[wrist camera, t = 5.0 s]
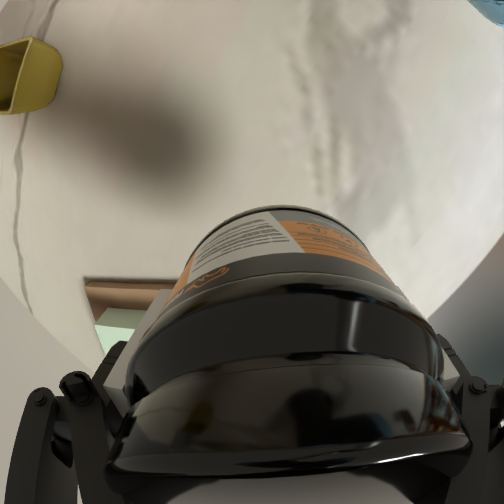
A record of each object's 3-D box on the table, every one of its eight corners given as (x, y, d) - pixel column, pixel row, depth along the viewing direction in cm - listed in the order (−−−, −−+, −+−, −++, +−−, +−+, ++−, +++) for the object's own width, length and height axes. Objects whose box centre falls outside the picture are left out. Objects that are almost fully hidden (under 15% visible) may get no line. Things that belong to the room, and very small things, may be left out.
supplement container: (219, 167, 13) (20, 314, 2) (401, 244, 14) (545, 408, 3) (169, 330, 17) (100, 503, 6) (317, 375, 18) (340, 536, 7)
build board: (89, 281, 33) (84, 286, 32) (235, 284, 32) (233, 290, 31) (127, 383, 40) (124, 389, 39) (243, 395, 39) (242, 402, 38)
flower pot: (21, 113, 24) (-25, 115, 16) (37, 55, 21) (-6, 47, 13) (60, 115, 25) (10, 114, 16) (78, 50, 22) (33, 35, 13)
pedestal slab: (107, 307, 32) (93, 324, 29) (209, 312, 32) (203, 333, 28) (134, 380, 38) (126, 398, 34) (221, 389, 37) (217, 410, 33)
